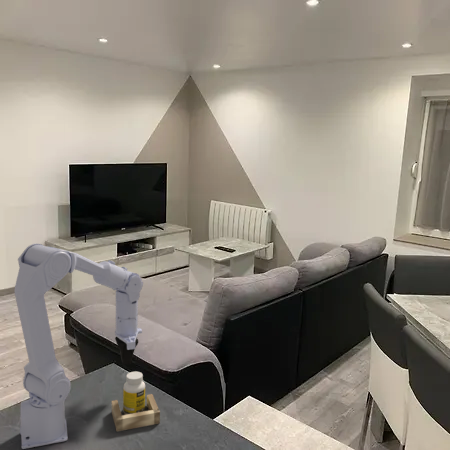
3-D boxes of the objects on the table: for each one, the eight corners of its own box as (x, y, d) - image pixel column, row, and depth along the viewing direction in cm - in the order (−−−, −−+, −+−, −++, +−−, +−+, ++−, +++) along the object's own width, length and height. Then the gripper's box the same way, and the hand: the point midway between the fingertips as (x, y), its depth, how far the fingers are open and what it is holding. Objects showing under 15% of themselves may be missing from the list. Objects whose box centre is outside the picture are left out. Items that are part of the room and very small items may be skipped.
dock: (116, 431, 106) (116, 420, 106) (111, 411, 114) (111, 400, 113) (159, 423, 110) (159, 412, 109) (152, 404, 118) (152, 393, 117)
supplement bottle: (138, 419, 111) (138, 382, 109) (119, 414, 113) (118, 377, 111) (149, 408, 116) (149, 372, 114) (130, 403, 118) (130, 368, 116)
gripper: (147, 324, 114) (146, 373, 117) (136, 304, 128) (136, 349, 130) (119, 327, 112) (119, 377, 114) (111, 307, 125) (111, 352, 127)
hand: (126, 363), depth 122 cm, fingers closed
